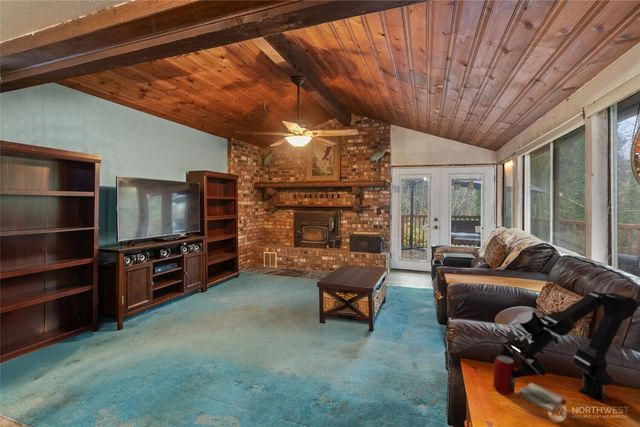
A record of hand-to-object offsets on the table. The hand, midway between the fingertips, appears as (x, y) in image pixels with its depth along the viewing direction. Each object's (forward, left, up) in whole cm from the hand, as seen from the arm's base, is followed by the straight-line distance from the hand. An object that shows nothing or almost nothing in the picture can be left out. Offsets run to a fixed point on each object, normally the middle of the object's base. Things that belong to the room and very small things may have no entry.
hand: (504, 369), depth 109 cm
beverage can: (0, 0, -8) cm, 8 cm away
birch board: (-7, +10, -8) cm, 14 cm away
